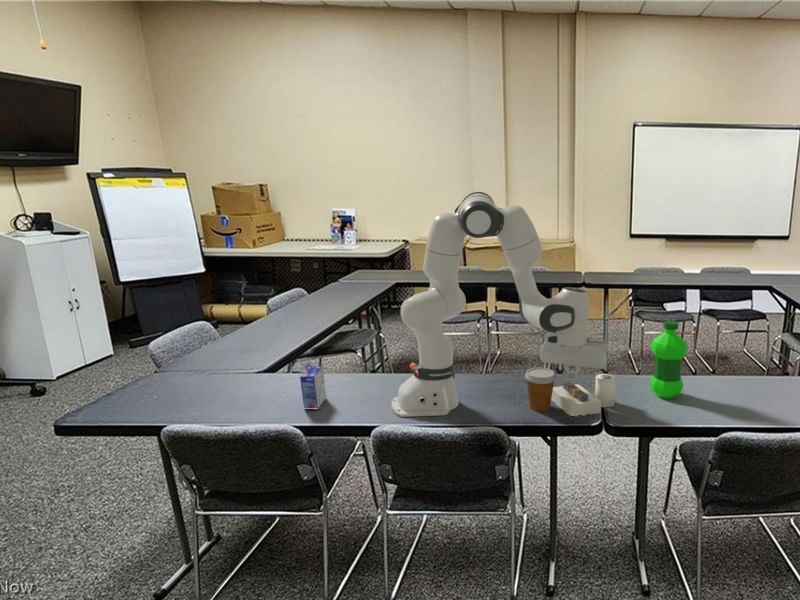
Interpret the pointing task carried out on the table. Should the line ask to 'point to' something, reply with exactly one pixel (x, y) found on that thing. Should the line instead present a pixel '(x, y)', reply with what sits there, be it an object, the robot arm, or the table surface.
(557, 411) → the table surface
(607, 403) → the white hollow cylinder
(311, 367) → the ink cartridge box
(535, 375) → the disposable coffee cup
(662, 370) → the plastic bottle
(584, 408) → the power strip
